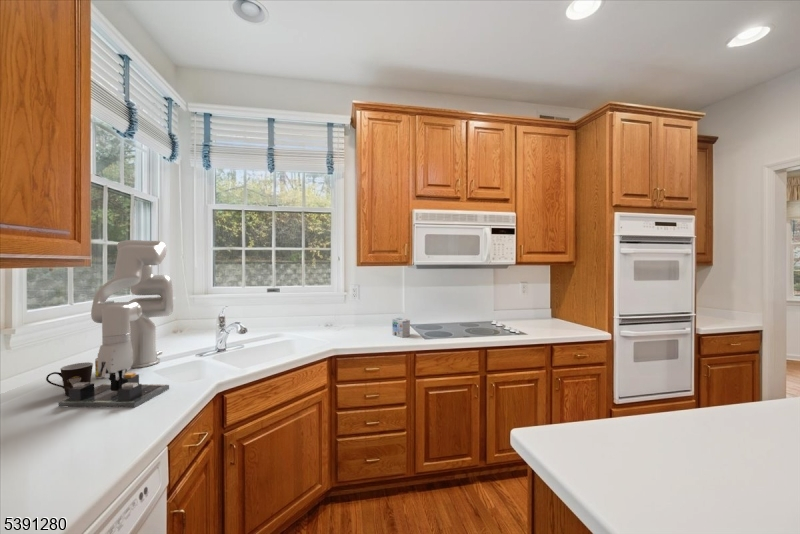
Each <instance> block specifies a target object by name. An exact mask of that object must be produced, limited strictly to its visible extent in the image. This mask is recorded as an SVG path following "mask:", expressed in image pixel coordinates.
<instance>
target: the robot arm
mask: <svg viewBox="0 0 800 534" xmlns="http://www.w3.org/2000/svg"><path fill="white" fill-rule="evenodd" d="M116 248H117V249H116V250H117V255H116V261H115V265H114V266H115V268H114V272H113V277H112V278H111V279H110V280H108V281H107V282H105V283H103V285H102V286H100V287H99V289H98V290H97V291H96V292H95V294H94V296H93V300H92V305H91V309H90V310H91V312H90V313H91V314H90V315H91V317H90V318H91V320H92V321H93V322H94V323H97V324H101V332H102V333H101V334H102V335H101V337H102V338H101V345H100V346H99V350H98V353H99V354H98V353H97V358H98V363H97V372H98V373H99V374H102V376H101V378H100V379H108V380H109V381H110V384H111V391H118V389H120V388H122V384H123V378H124V377H125V373H127V372H128V371H129V370H131V369H138V368H144V367H150V366H154V365H156V364H159V363H160V362H161V359H160V358H159V357H158V356H160V355H162V354H163V351H162V350H158V351H157V348H156V347H157V343H156V342H157V341H156V340H157V339H156V338H157V337H156V336H157V334H156V333H157V331H156V330H157V329H156V325H155V323H154V322H153V320H152V319H150V318H159V317H160V318H161V317H168V316H171V315H172V314H173V311H174V296H173V295H174V294H173V282H172V281H173V280H172V278H171V277H170V276H169V275H166V274H153V266H159V265H161V263H162V262H163V260H164V259H165V257H166V255H167V246H166V244H165V243H164V242H163V241H160V240H144V239H143V240H141V239H140V240H139V239H128V240H121V241H119V242H117V244H116ZM125 289H130V293H131V294H132V295H134V296H147V297H137V298H132V299H130V300H129V301H123V302H122V301H121V302H120V301H117V302H114V301H113V302H106V301H107V300H108V298H110V297H111V296H112V295H113V294H115V293H118V292H121V291H123V290H125ZM148 296H149V297H148ZM152 296H153V297H152Z"/></svg>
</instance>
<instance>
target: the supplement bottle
mask: <svg viewBox="0 0 800 534" xmlns="http://www.w3.org/2000/svg"><path fill="white" fill-rule="evenodd" d="M98 354H99V352H98V353H97V355H98ZM97 363H98V357H96V358H95V361H94V364H95V378H96V379H100V380H101V379H102V378H101V376H102V374H99V373H98V372H97Z"/></svg>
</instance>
